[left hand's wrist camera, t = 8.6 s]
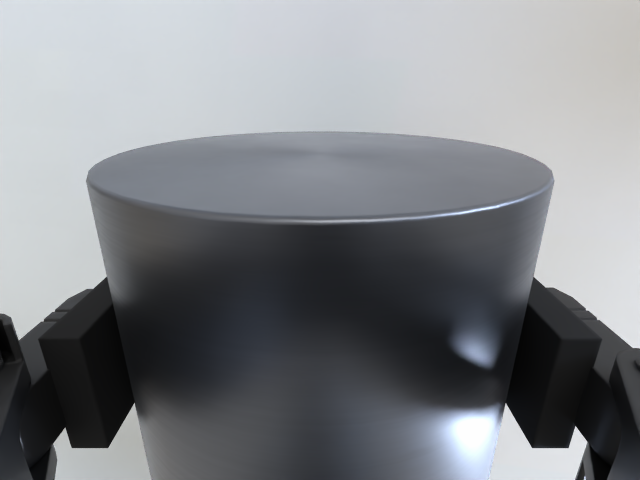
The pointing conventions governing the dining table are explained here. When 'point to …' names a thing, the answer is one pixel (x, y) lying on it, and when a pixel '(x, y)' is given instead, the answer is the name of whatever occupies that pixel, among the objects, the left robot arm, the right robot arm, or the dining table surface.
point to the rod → (320, 300)
